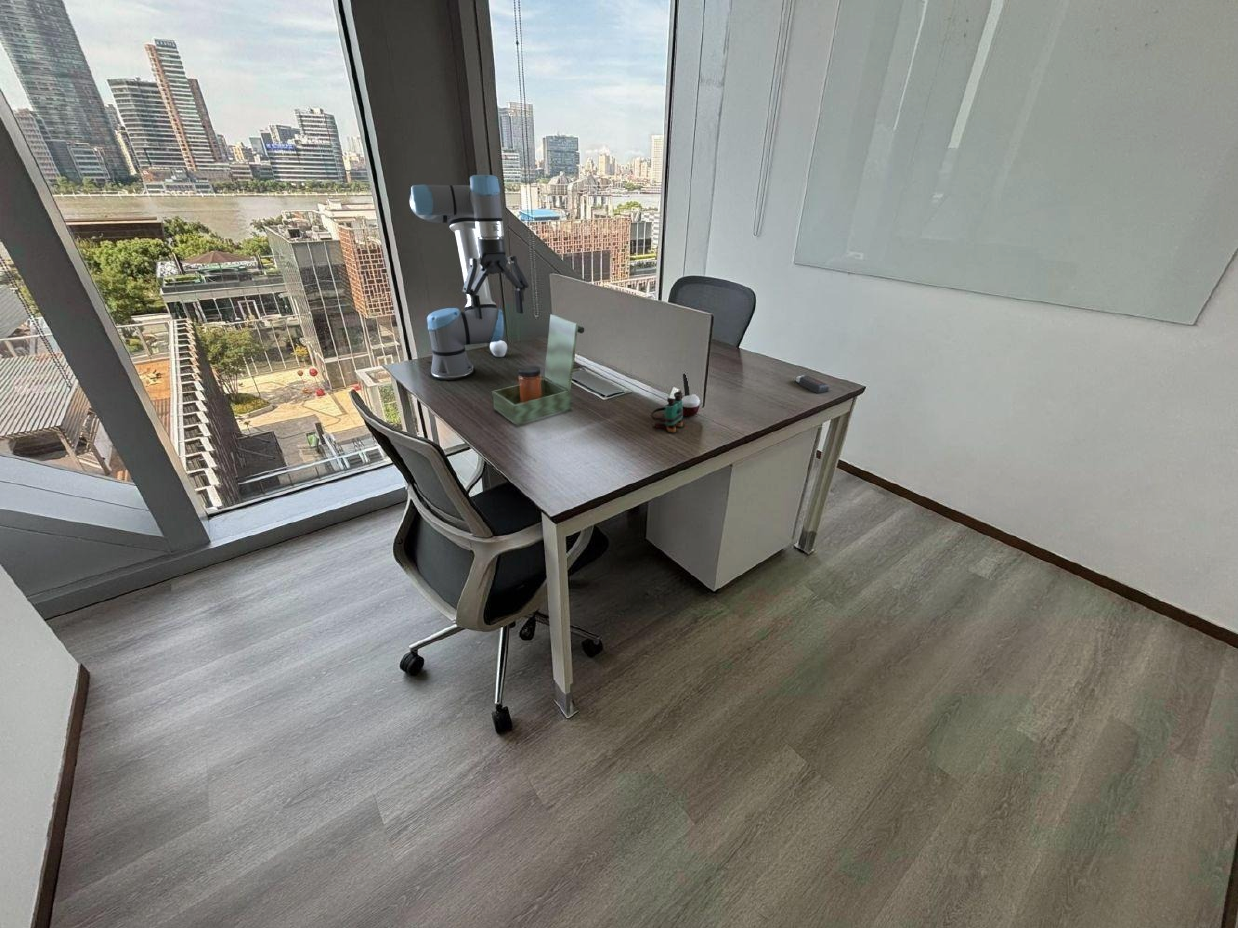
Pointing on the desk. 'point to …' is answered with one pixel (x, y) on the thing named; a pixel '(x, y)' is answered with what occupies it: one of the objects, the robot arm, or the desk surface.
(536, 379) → the jar
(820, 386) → the usb drive
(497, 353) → the plain white apple
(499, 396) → the chest
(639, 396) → the desk surface
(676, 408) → the binoculars
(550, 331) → the lid
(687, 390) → the rice bowl with chopsticks
